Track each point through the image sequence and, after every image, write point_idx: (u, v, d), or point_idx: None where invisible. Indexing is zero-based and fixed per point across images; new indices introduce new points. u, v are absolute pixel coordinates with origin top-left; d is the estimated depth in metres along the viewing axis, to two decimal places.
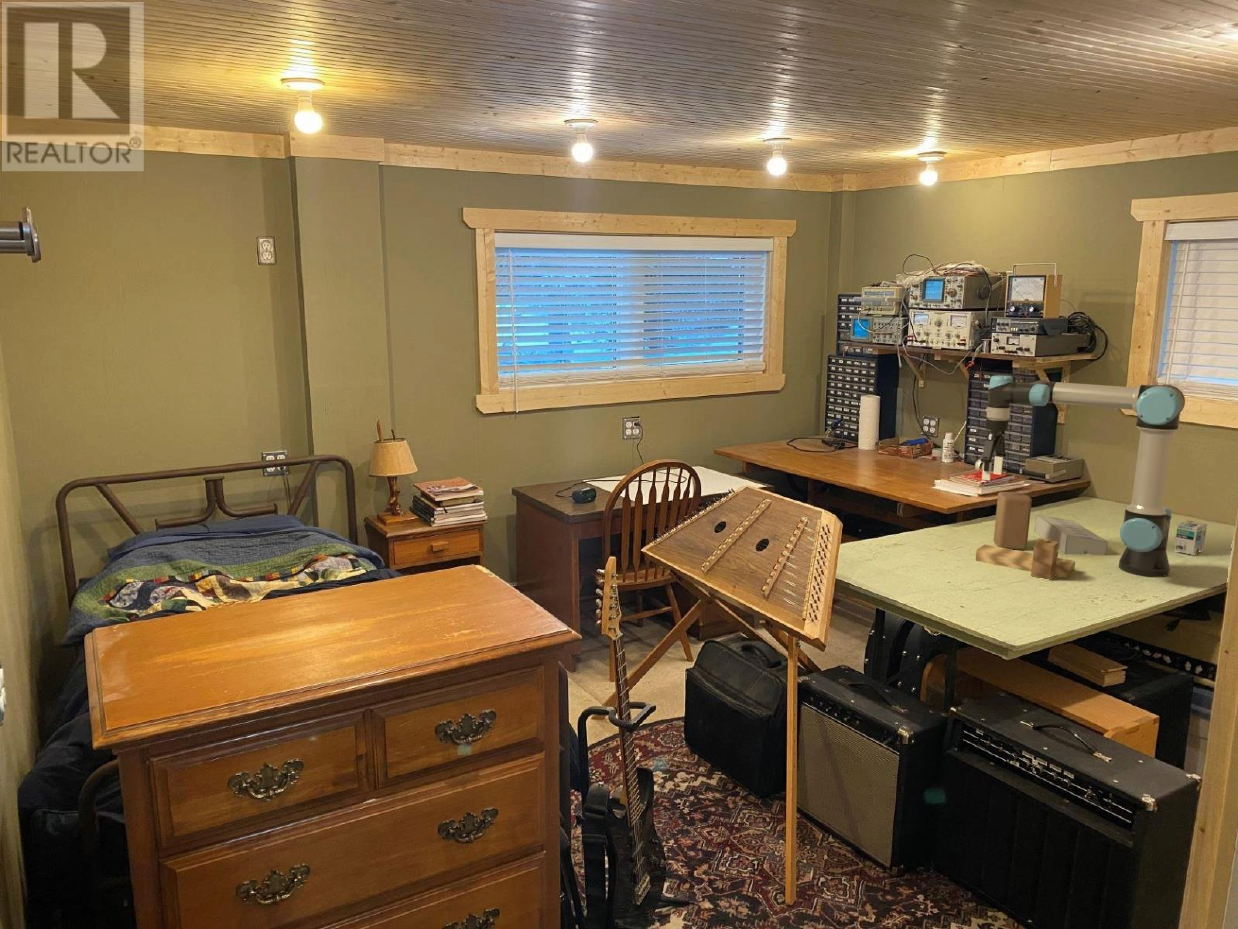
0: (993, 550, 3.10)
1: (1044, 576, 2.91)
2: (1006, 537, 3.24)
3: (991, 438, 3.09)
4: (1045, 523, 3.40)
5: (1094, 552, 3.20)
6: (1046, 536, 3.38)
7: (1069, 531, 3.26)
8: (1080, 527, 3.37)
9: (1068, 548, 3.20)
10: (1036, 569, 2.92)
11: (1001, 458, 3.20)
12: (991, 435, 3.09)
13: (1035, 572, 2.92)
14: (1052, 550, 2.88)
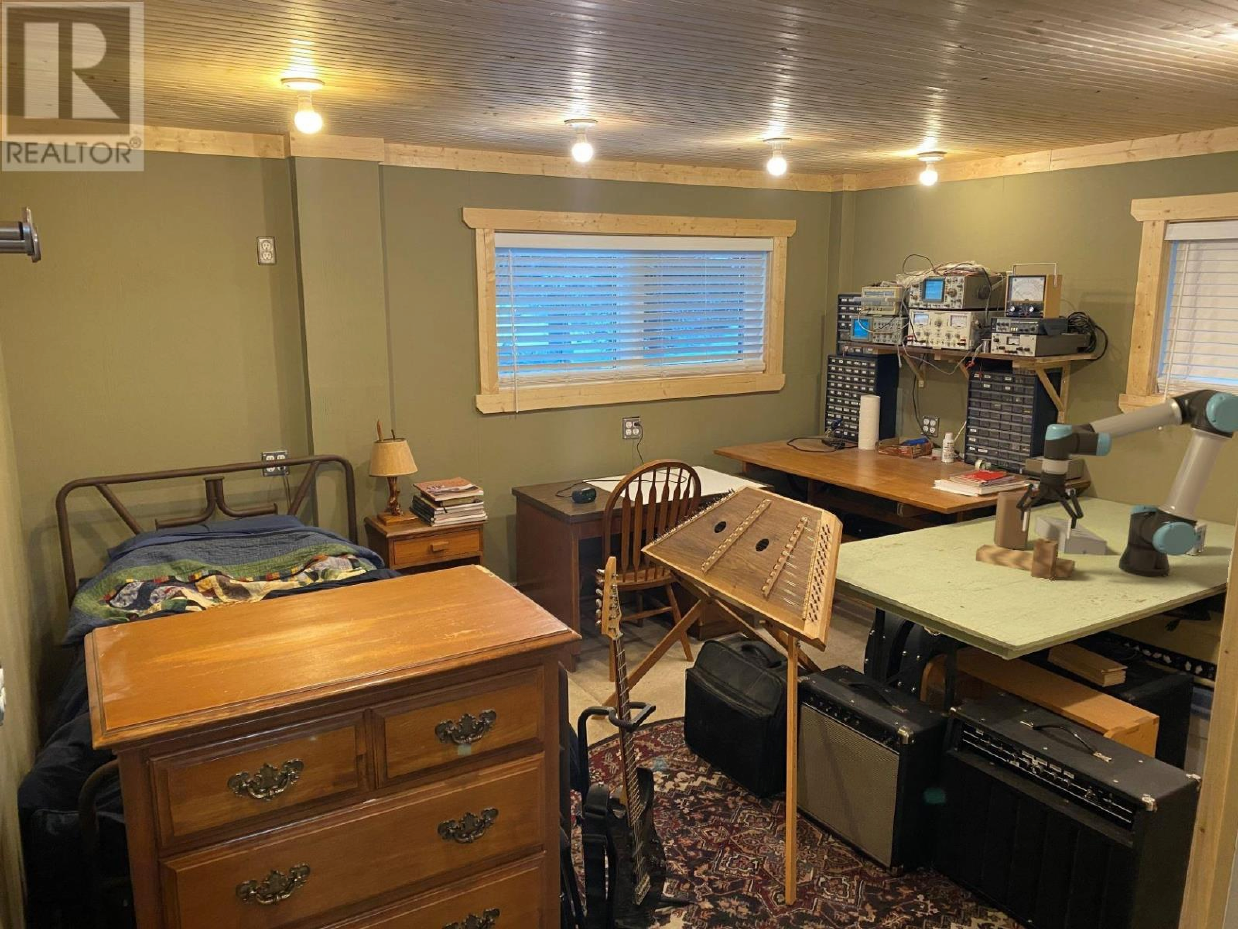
0: (993, 550, 3.10)
1: (1044, 576, 2.91)
2: (1006, 537, 3.24)
3: None
4: (1044, 523, 3.40)
5: (1094, 552, 3.20)
6: (1046, 536, 3.38)
7: None
8: (1080, 527, 3.37)
9: (1068, 548, 3.21)
10: (1036, 569, 2.92)
11: (1069, 520, 2.85)
12: (1030, 483, 2.92)
13: (1035, 572, 2.92)
14: (1052, 550, 2.88)
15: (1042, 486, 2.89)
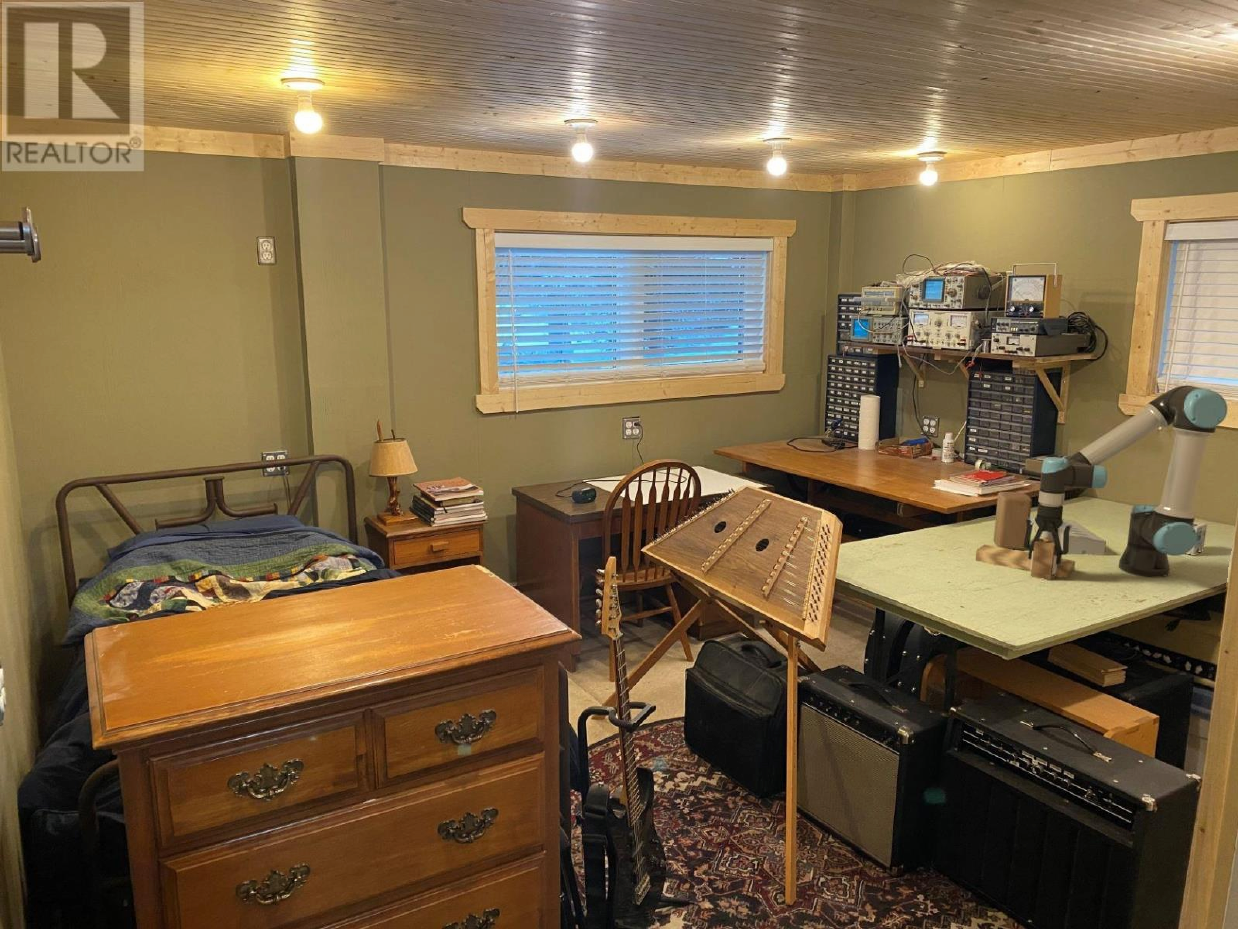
0: (993, 550, 3.10)
1: (1044, 576, 2.91)
2: (1006, 537, 3.24)
3: None
4: None
5: (1093, 552, 3.20)
6: (1045, 536, 3.39)
7: None
8: (1080, 527, 3.37)
9: None
10: (1036, 569, 2.92)
11: None
12: (1027, 520, 2.94)
13: (1035, 572, 2.92)
14: (1052, 550, 2.88)
15: (1038, 518, 2.91)
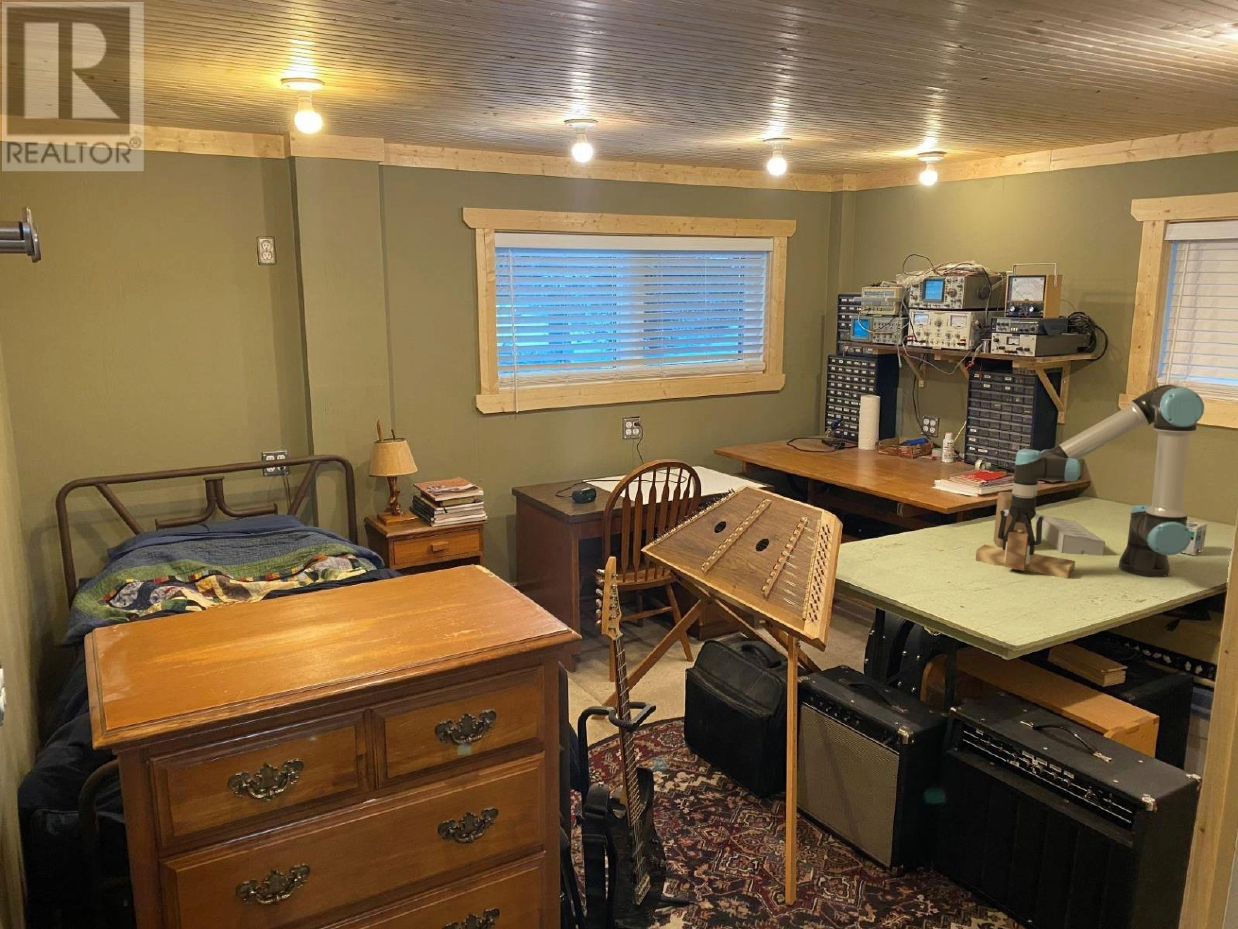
0: (993, 550, 3.10)
1: (1018, 566, 2.96)
2: None
3: None
4: (1044, 523, 3.40)
5: (1092, 553, 3.20)
6: (1045, 536, 3.39)
7: (1067, 531, 3.26)
8: (1080, 527, 3.37)
9: (1065, 548, 3.21)
10: (1010, 559, 2.97)
11: None
12: (1001, 511, 2.99)
13: (1009, 562, 2.97)
14: (1025, 541, 2.93)
15: (1012, 509, 2.96)
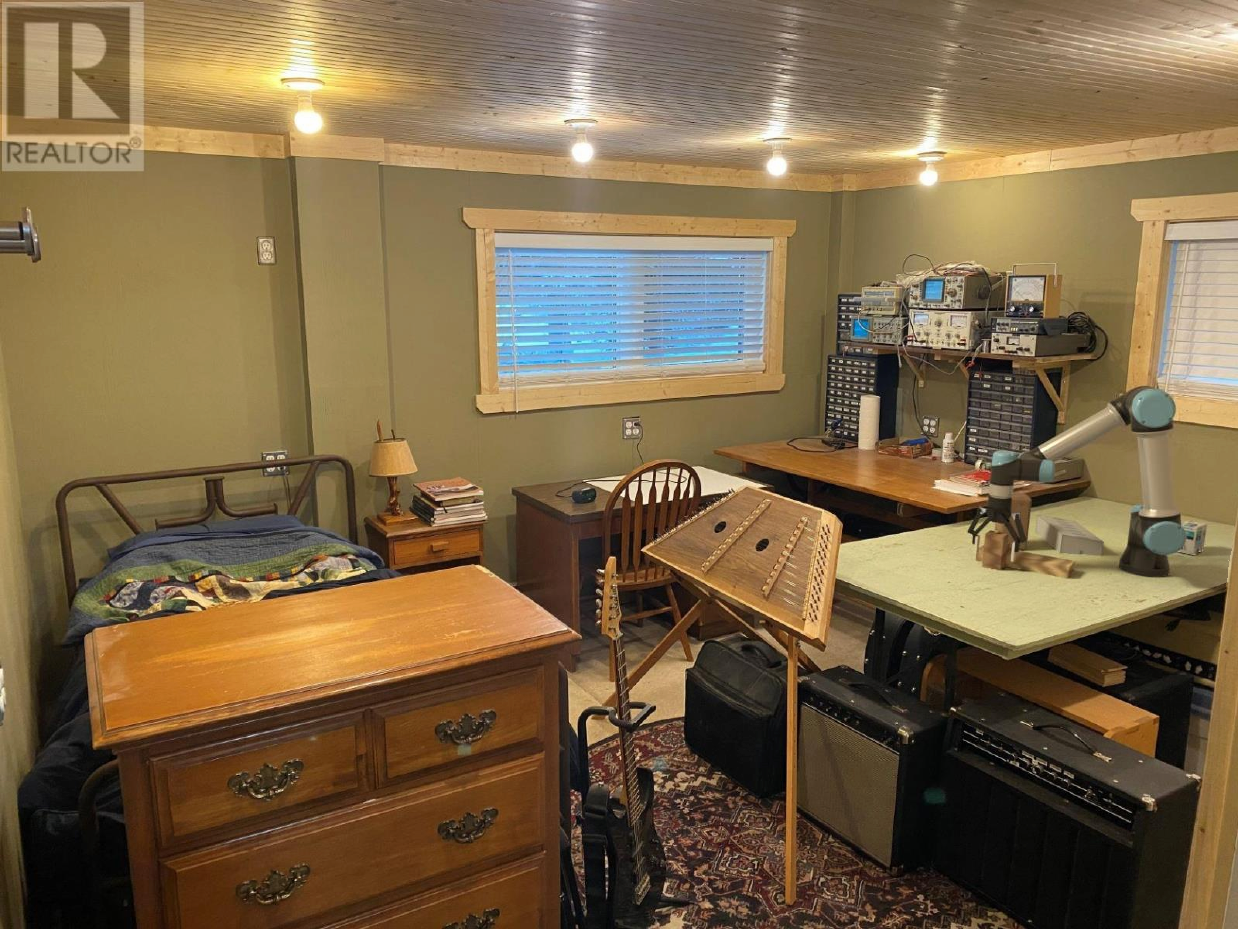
0: None
1: (994, 566, 3.01)
2: None
3: None
4: (1044, 523, 3.40)
5: (1090, 552, 3.20)
6: (1045, 536, 3.39)
7: (1066, 531, 3.27)
8: (1080, 527, 3.37)
9: (1064, 548, 3.21)
10: (987, 560, 3.02)
11: None
12: (978, 508, 3.04)
13: (986, 562, 3.02)
14: (1002, 541, 2.98)
15: (989, 510, 3.01)
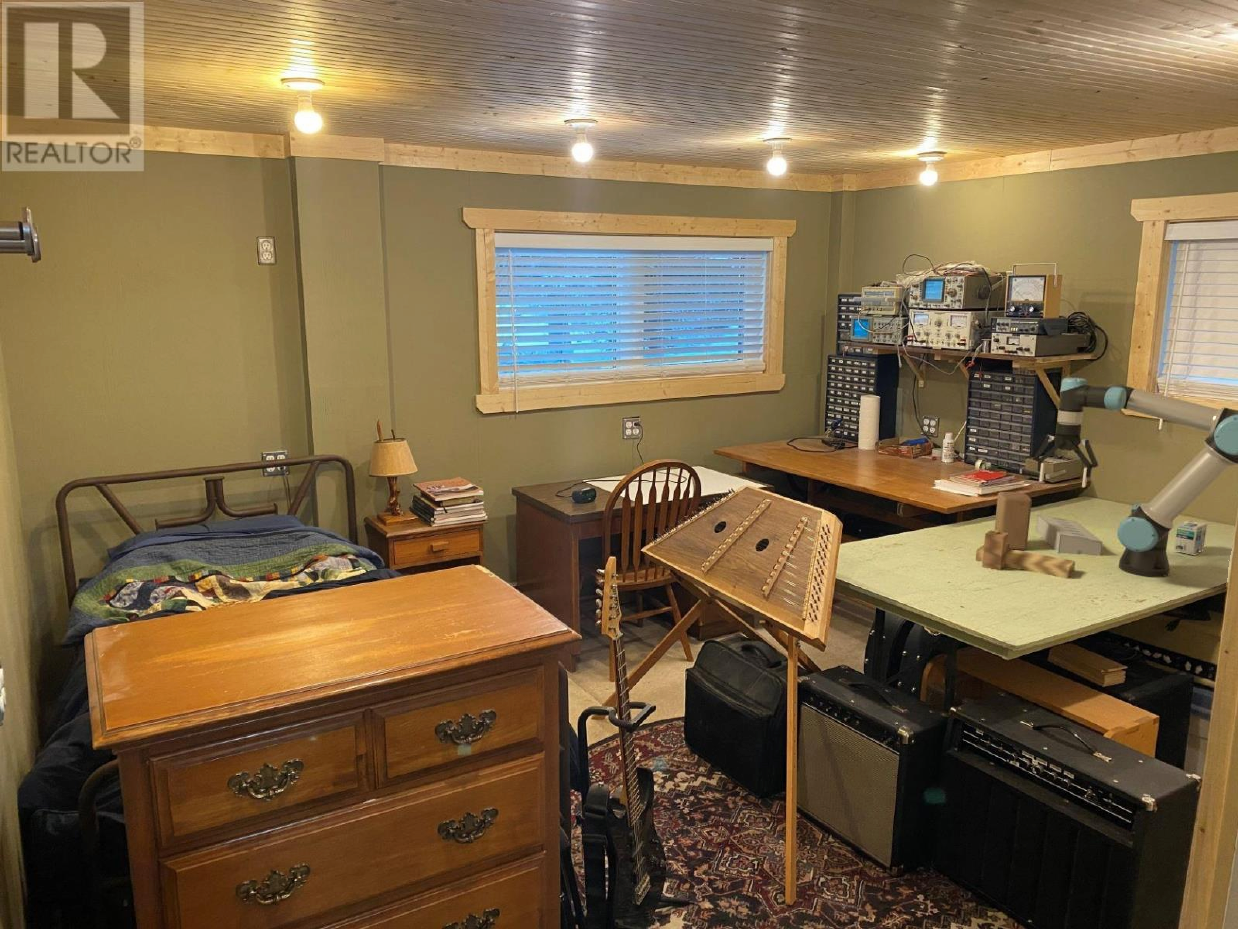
0: None
1: (994, 566, 3.01)
2: None
3: None
4: (1044, 523, 3.41)
5: (1089, 553, 3.20)
6: (1044, 536, 3.39)
7: (1065, 531, 3.27)
8: (1080, 527, 3.36)
9: (1062, 548, 3.21)
10: (987, 560, 3.02)
11: (1084, 469, 2.98)
12: (1046, 436, 3.04)
13: (986, 562, 3.02)
14: (1002, 541, 2.98)
15: (1058, 437, 3.01)
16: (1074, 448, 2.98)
